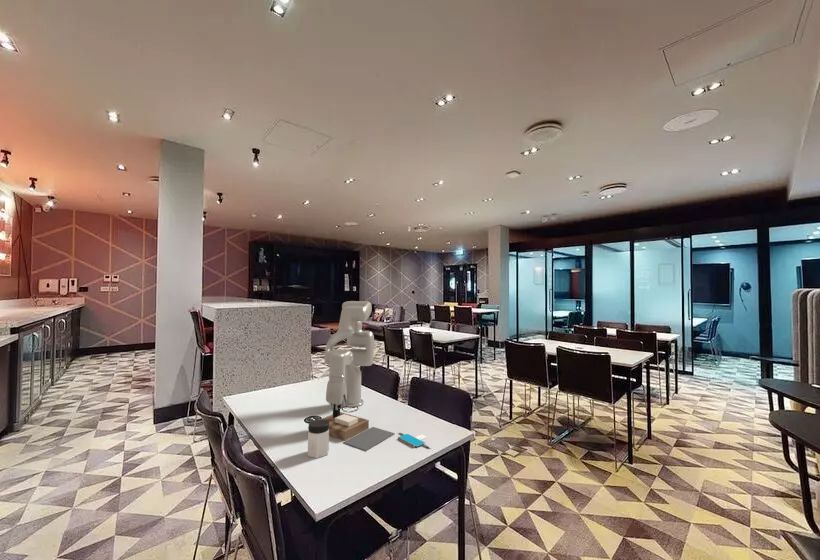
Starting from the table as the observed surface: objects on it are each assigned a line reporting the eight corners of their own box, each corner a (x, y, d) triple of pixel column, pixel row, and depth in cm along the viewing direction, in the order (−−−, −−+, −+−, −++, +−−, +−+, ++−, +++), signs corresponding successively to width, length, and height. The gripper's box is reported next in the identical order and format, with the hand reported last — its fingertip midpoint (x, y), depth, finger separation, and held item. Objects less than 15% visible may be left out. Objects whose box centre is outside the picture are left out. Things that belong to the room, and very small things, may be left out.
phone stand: (440, 445, 144) (440, 441, 144) (420, 453, 136) (420, 449, 136) (409, 430, 159) (409, 427, 159) (390, 437, 151) (390, 434, 151)
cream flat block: (334, 422, 157) (334, 417, 157) (343, 418, 162) (344, 414, 162) (348, 426, 152) (348, 422, 152) (357, 422, 157) (357, 418, 157)
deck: (314, 430, 157) (314, 421, 157) (338, 419, 170) (338, 411, 171) (344, 440, 146) (344, 431, 146) (368, 428, 159) (368, 420, 160)
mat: (343, 443, 144) (343, 442, 144) (372, 427, 161) (372, 426, 161) (366, 451, 137) (366, 450, 137) (394, 434, 153) (394, 433, 153)
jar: (302, 455, 133) (303, 425, 133) (315, 446, 140) (316, 418, 141) (321, 459, 130) (321, 428, 130) (333, 450, 137) (333, 421, 138)
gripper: (320, 378, 162) (319, 416, 161) (342, 383, 154) (341, 423, 153) (332, 375, 168) (331, 411, 168) (353, 379, 160) (353, 418, 159)
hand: (336, 417), depth 160 cm, fingers closed
